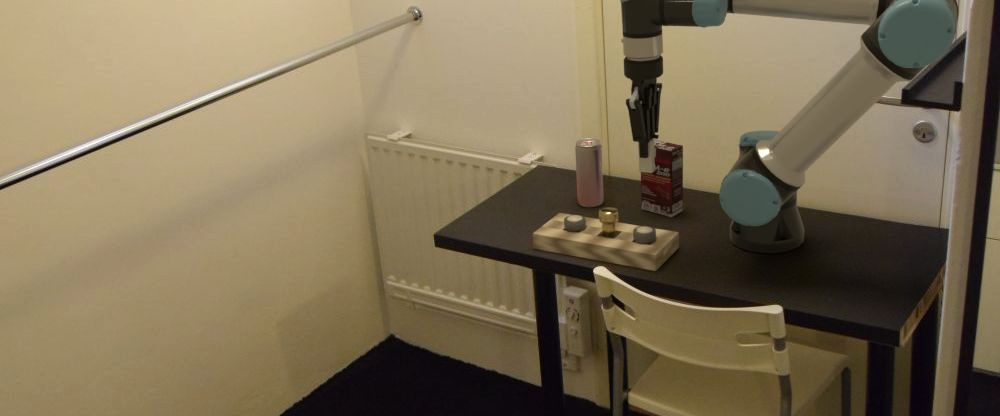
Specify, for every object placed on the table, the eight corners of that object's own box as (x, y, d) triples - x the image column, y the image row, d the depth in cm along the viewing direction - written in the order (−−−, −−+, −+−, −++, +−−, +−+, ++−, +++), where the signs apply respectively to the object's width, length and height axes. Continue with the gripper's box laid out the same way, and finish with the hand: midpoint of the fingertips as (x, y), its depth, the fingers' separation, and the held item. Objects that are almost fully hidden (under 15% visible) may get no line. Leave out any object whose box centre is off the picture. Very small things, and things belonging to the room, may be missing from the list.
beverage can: (578, 198, 249) (575, 138, 243) (604, 198, 248) (601, 137, 242) (577, 208, 244) (574, 146, 238) (602, 208, 243) (600, 146, 237)
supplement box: (640, 210, 240) (638, 143, 234) (652, 203, 243) (651, 137, 237) (671, 218, 235) (671, 150, 228) (684, 211, 238) (683, 144, 232)
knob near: (659, 251, 219) (659, 227, 216) (650, 260, 215) (650, 235, 213) (639, 248, 221) (638, 223, 219) (630, 256, 217) (629, 232, 215)
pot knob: (622, 232, 221) (621, 207, 219) (613, 239, 218) (613, 214, 216) (604, 229, 223) (604, 204, 221) (596, 236, 220) (595, 211, 218)
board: (678, 247, 220) (678, 232, 219) (655, 271, 211) (655, 255, 210) (560, 227, 234) (559, 212, 233) (533, 248, 225) (532, 233, 224)
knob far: (590, 239, 227) (589, 215, 224) (580, 247, 223) (579, 223, 221) (571, 236, 229) (570, 212, 227) (561, 244, 225) (560, 220, 223)
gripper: (638, 46, 210) (642, 158, 219) (611, 63, 200) (616, 180, 209) (673, 48, 206) (676, 162, 215) (648, 65, 196) (652, 184, 205)
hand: (647, 171), depth 212 cm, fingers closed
